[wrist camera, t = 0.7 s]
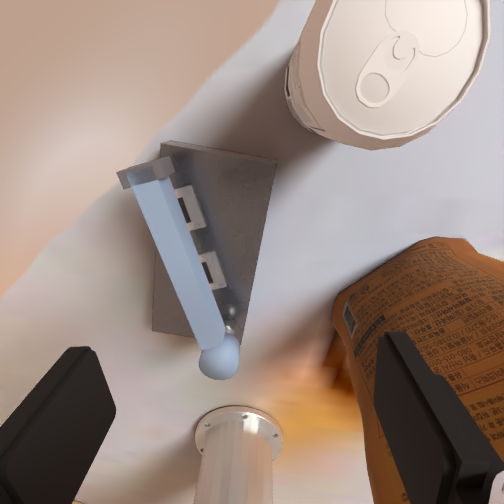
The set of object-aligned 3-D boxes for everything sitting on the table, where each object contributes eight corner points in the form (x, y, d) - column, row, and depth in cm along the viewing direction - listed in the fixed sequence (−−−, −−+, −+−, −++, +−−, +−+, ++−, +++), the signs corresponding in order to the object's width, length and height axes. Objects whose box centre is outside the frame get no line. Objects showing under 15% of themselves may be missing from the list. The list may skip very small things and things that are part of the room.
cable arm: (244, 357, 31) (242, 376, 29) (210, 363, 31) (206, 382, 29) (171, 155, 23) (161, 159, 21) (128, 167, 24) (113, 173, 21)
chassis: (242, 328, 37) (238, 366, 32) (160, 314, 37) (141, 350, 31) (275, 159, 29) (277, 170, 24) (170, 140, 29) (147, 146, 23)
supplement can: (322, 2, 24) (394, -141, 11) (401, 66, 26) (553, 12, 12) (265, 100, 27) (265, 85, 14) (339, 152, 29) (406, 186, 15)
